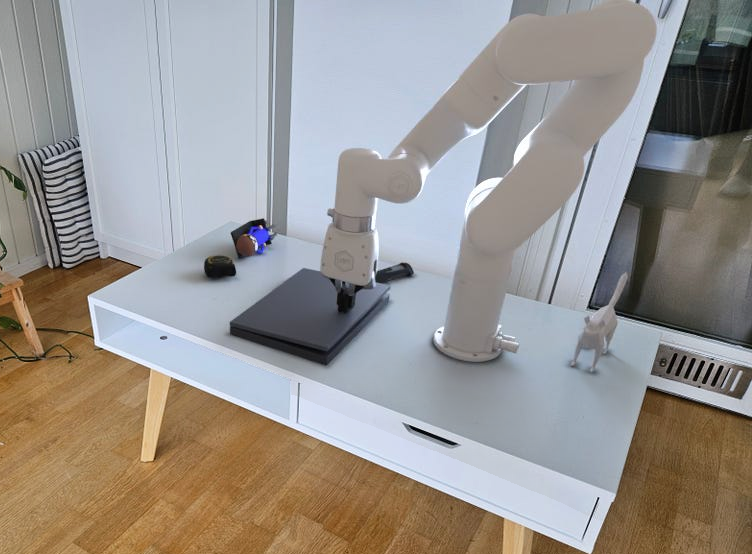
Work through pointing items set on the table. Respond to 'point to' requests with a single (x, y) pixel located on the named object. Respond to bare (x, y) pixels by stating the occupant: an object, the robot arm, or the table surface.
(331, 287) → the laptop screen
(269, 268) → the table surface
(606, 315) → the cat figurine
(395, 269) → the electric trimmer
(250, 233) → the character figurine
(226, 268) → the tape measure
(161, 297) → the table surface
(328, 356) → the dark grey flat slab
